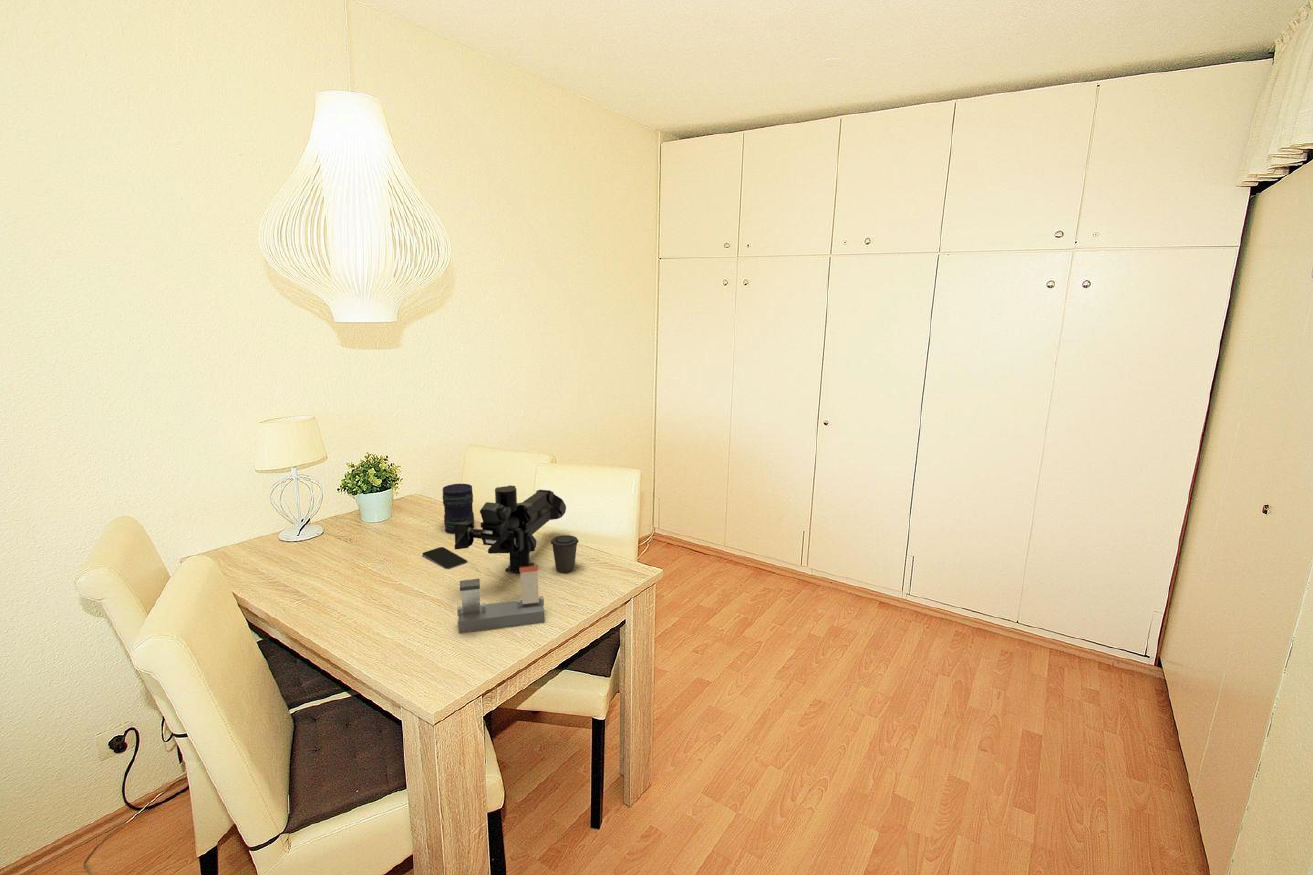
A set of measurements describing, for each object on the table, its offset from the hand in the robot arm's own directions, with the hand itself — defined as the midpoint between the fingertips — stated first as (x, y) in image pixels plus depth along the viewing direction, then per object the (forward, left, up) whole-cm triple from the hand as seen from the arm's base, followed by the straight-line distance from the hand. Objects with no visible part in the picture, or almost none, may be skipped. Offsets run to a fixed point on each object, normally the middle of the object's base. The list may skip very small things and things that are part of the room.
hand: (471, 549), depth 144 cm
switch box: (+3, +9, -16) cm, 19 cm away
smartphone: (-25, -25, -17) cm, 40 cm away
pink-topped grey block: (-1, +15, -13) cm, 20 cm away
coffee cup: (-28, +13, -17) cm, 35 cm away
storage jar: (-48, -34, -17) cm, 61 cm away
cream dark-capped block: (+6, +3, -13) cm, 15 cm away
